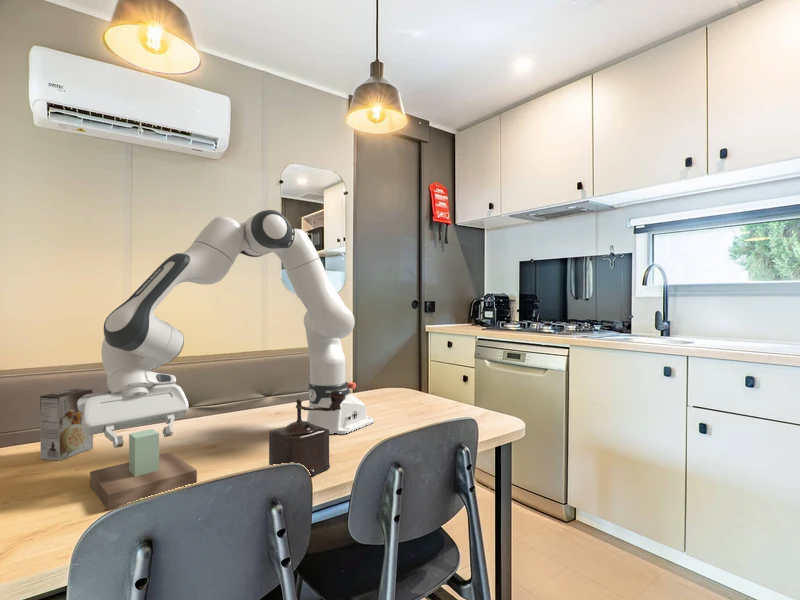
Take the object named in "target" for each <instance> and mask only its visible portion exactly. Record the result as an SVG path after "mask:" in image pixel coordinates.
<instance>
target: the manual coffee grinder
mask: <svg viewBox="0 0 800 600" xmlns="http://www.w3.org/2000/svg"><path fill="white" fill-rule="evenodd" d="M329 397H330V399H331V402H332V403H331V405H330V406H329V407H330V408H324V407H309V406H304V405H302V403H303V401H302V399H301V398H298V399H296V401H295V402H296V406H295V409H297V412H296V413H297V414H296V415H297V417H296V421H293V422H291V423H289V424H287V425H286V426H283V427H279V428H275V429H271V430H269V433H268V466H269V465H273V464H281V463H290V462H294V463H300V464H302V465H304V466H305V467H306V468H307V469H308V470H309V472H310V474H311V477H313V476H316V475H317V474H320V473H322V472H326V471H327V470H328V469H330V468H331V466H330V434H329V430H328V429H326V428H323V427H319V426H316V425H313V424H311V423H309V422H307V420H306V421H305V420H303V419H302V410H303V411H309V410H319V411H336V410H341V407H340V404H341V403H342V402H343V401H344V400H345V397H346V396H345V393H344V392H342V391H340V390H334V391H331V393H330V396H329Z"/></svg>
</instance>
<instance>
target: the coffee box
mask: <svg viewBox="0 0 800 600" xmlns="http://www.w3.org/2000/svg"><path fill="white" fill-rule="evenodd" d="M86 394H93V389H88V388H87V389H84V388H83V389H81V388H72V389H67V390H63V391H58V392H54V393H49V394H44V395H40V397H39V403H40V404H39V405H40V407H39V413H40V414H39V415H40V421H39V423H40V425H39V427H40V428H39V429H40V434H39V435H40V459H41V460H51V461H63V460H65V459H68V458H70V457H73V456H75V455H78V454H81V453H84V452H86V451H89V450H92V449H94V435H86V434H84V433H83V432H82V413H81V412H79V410H78V407H77V401H78V400H79V399H80V398H81V397H84V396H85V395H86ZM84 399H85V398H84Z"/></svg>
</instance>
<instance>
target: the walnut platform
mask: <svg viewBox="0 0 800 600" xmlns="http://www.w3.org/2000/svg"><path fill="white" fill-rule="evenodd" d="M89 477H90V478H89V487H91V489H92V491H93V492H94V493H95V495H96V496H97V498H98V499H99V500H100V502H101V503H102V504H103V506H104V507H105V509H106V508H107V509H108V510H107V509H106V510H107V511H109V512H110V511H112V509H113V510H115V509H114V508H116V507H119V506H121V505H124V504H127V503H129V502H133V501H136V500H139V499H141V498H145V497H148V496H151V495H155V494H158V493H161V492H165V491H168V490H172V489H175V488H178V487H182V486H185V485H188V484H193V483H196V482H197V483H198V481H197V480H198V470H197V469H196V468H195V467H193V466H192V465H191V464H189V463H188V462H186V461H185V460H183V459H182V458H180V457H179V456H178V455H176V454H175V453H173V452H172V451H170V452H165V453H161V454H159V470H158V471H155V472H151V473H147V474H143V475H140V476H136V477H135V476H134V475H133V474H132V473H131V472H130V471H129V461H128V462H124V463H120V464H115V465H112V466H107V467H103V468H99V469H95V470H91V471H89ZM119 508H120V507H119ZM116 509H117V508H116Z"/></svg>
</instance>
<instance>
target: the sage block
mask: <svg viewBox="0 0 800 600" xmlns="http://www.w3.org/2000/svg"><path fill="white" fill-rule="evenodd" d="M159 455H160V433H159V432H158V431H157V430H155V429H153V428H150V429H145V430H140V431H136V432H131V433H129V434H128V462H129V471H130V472H131V473H132V474H133V475H134V476H135V477H136V476H140V475H143V474H147V473H151V472H155V471H158V470H159Z"/></svg>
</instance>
